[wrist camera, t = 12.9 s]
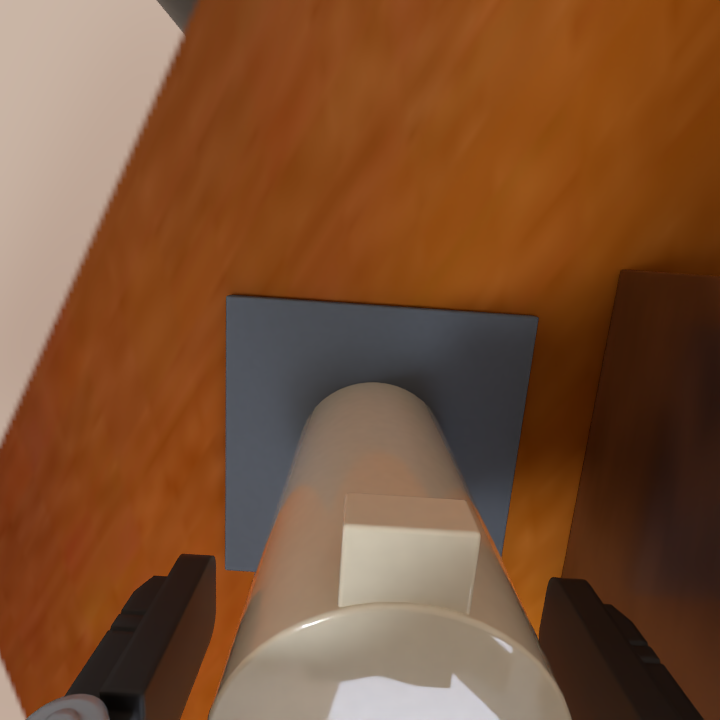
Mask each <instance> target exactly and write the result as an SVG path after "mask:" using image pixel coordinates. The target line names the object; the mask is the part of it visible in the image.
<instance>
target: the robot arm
mask: <svg viewBox="0 0 720 720" xmlns="http://www.w3.org/2000/svg"><path fill="white" fill-rule="evenodd" d="M215 615H216V561H215V557H214V556H210V555H194V554H181V555H180V556H179V558H178V559H177V561H176V563H175V564H174V566H173V568H172V569H171V571H170V573H169V575H168V576H167V577H166V576H153V577H152V578H151V579H149V580H148V581H147V582H145V583H144V584H143V585H142V586H140V587H139V588H138V589H137V590H135V591H134V592H133V594H132V595H131V597H130V598H129V600H128V601H127V603H126V604H125V606H124V607H123V609H122V611H121V614H119V615H118V616H117V618H116V619H115V621H114V622H113V624H112V625H111V629H110V631H109V630H108V632H107V633H106V635H105V636H104V638H103V639H102V641H101V642H100V644H99V645H98V647H97V648H96V650H95V651H94V653H93V654H92V656H91V657H90V659H89V660H88V662H87V663H86V665H85V666H84V668H83V669H82V671H81V672H80V674H79V675H78V677H77V678H76V680H75V681H74V683H73V684H72V686H71V687H70V689H69V690H68V692H67V693H66V695H65V696H64V697H61V698H59V699H56V700H54V701H52V702H50V703H48V704H46V705H44V706H43V707H41V708H40V709H38V710H37V711H35V712H34V713H33V714H31V715H30V716H29V717H28V718H27V719H26V720H180V718H181V715H182V713H183V710H184V707H185V705H186V702H187V700H188V697H189V695H190V692H191V689H192V687H193V684H194V682H195V679H196V676H197V674H198V671H199V669H200V666H201V663H202V661H203V658H204V656H205V653H206V650H207V648H208V645H209V643H210V640H211V636H212V633H213V628H214V623H215ZM539 642H540V644H541V647H542V649H543V651H544V653H545V655H546V658H547V660H548V662H549V664H550V666H551V668H552V671H553V673H554V675H555V677H556V679H557V682H558V684H559V686H560V688H561V690H562V693H563V695H564V697H565V700H566V702H567V705H568V708H569V710H570V713H571V717H572V720H704V719H703V717H702V716H701V715H700V713H699V712H698V711H697V709H696V708H695V707H694V705H693V704H692V702H691V701H690V700H689V698H688V697H687V696H686V694H685V693H684V692H683V690H682V689H681V687H680V686H679V685H678V683H677V682H676V681H675V679H674V678H673V677H672V675H671V674H670V672H669V671H668V670H667V668H666V667H665V666H664V664H661V663H660V659H659V657H658V656H657V655H656V653H655V652H654V651H653V649H652V648H651V647H648V642H647V641H646V640H645V638H644V637H643V636H642V634H641V633H640V632H639V630H638V629H637V627H636V626H635V625H634V623H633V622H632V621H631V620H629V619H628V618H627V617H626V616H625V615H623V614H622V613H621V612H620V611H619V610H617V609H616V608H615V607H614V606H613V605H611V604H603V603H602V601H601V600H600V598H599V597H598V595H597V594H596V592H595V591H594V589H593V588H592V587H591V585H590V584H589V583H588V581H586V580H585V579H573V578H556V577H553V578H551V579H550V580H549V583H548V586H547V592H546V597H545V602H544V608H543V613H542V619H541V624H540V630H539Z"/></svg>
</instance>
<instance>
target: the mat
mask: <svg viewBox="0 0 720 720" xmlns="http://www.w3.org/2000/svg"><path fill="white" fill-rule="evenodd" d="M538 319H539V318H538V317H536V316H531V315H516V314H502V313H487V312H473V311H458V310H444V309H429V308H414V307H400V306H385V305H371V304H356V303H342V302H327V301H313V300H298V299H284V298H269V297H255V296H240V295H229V296H227V297H226V506H225V569H226V570H235V571H251V572H255V571H256V568H257V565H258V562H259V559H260V556H261V553H262V550H263V547H264V544H265V541H266V538H267V535H268V532H269V529H270V526H271V523H272V520H273V517H274V514H275V511H276V507H277V504H278V501H279V498H280V495H281V492H282V489H283V486H284V483H285V480H286V477H287V474H288V471H289V468H290V465H291V462H292V459H293V456H294V453H295V450H296V447H297V444H298V441H299V437H300V434H301V431H302V429H303V426H304V424H305V422H306V420H307V418H308V417H309V415H310V413H311V412H312V411H313V410H314V408H315V407H316V406H317V405H318V404H319V403H320V402H321V401H322V400H324V399H325V398H326V397H328V396H329V395H330V394H332V393H334V392H336V391H337V390H339V389H342V388H345V387H347V386H350V385H354V384H359V383H367V382H378V383H385V384H390V385H394V386H398V387H400V388H402V389H405V390H407V391H409V392H411V393H412V394H414V395H416V396H417V397H418V398H419V399H421V400H422V401H423V402H424V403H425V404H426V405H427V406H428V407H429V408H430V409H431V411H432V412H433V413H434V415H435V416H436V418H437V420H438V422H439V424H440V426H441V428H442V430H443V432H444V434H445V437H446V439H447V441H448V443H449V445H450V448H451V450H452V452H453V454H454V456H455V459H456V461H457V463H458V465H459V467H460V469H461V472H462V474H463V476H464V478H465V480H466V483H467V485H468V487H469V489H470V491H471V494H472V496H473V498H474V500H475V502H476V504H477V507H478V509H479V511H480V513H481V515H482V518H483V520H484V522H485V524H486V526H487V529H488V531H489V533H490V535H491V537H492V539H493V542H494V544H495V546H496V548H497V550H498V553H499V555H500V557H501V556H502V549H503V543H504V536H505V530H506V524H507V517H508V511H509V504H510V498H511V492H512V485H513V479H514V472H515V466H516V460H517V453H518V447H519V441H520V434H521V428H522V421H523V415H524V409H525V402H526V396H527V389H528V383H529V377H530V370H531V364H532V357H533V351H534V345H535V338H536V332H537V325H538Z"/></svg>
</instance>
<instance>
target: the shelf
mask: <svg viewBox="0 0 720 720" xmlns="http://www.w3.org/2000/svg"><path fill="white" fill-rule="evenodd" d="M562 578H573V579H585V580H586V581H588V583H589V584H590V585H591V587H592V588H593V589H594V591H595V592H596V594H597V595H598V597H599V598H600V600H601V601H602V603H603V604H611V605H613V606H614V607H615V608H616V609H617V610H619V611H620V612H621V613H622V614H623V615H625V616H626V617H627V618H628V619H629V620H631V621H632V622H633V623H634V625H635V626H636V627H637V629H638V630H639V632H640V633H641V634H642V636H643V637H644V638H645V640H646V641H647V642H648V647H651V648H652V649H653V651H654V652H655V653H656V655H657V656H658V657H659V659H660V663H661V664H664V666H665V667H666V668H667V670H668V671H669V672H670V674H671V675H672V677H673V678H674V679H675V681H676V682H677V683H678V685H679V686H680V687H681V689H682V690H683V692H684V693H685V694H686V696H687V697H688V698H689V700H690V701H691V702H692V704H693V705H694V707H695V708H696V709H697V711H698V712H699V713H700V715H701V716H702V717H703V719H704V720H720V276H709V275H694V274H680V273H666V272H651V271H637V270H621V271H620V277H619V282H618V287H617V292H616V297H615V303H614V308H613V313H612V318H611V323H610V329H609V334H608V339H607V344H606V349H605V355H604V360H603V365H602V370H601V375H600V381H599V386H598V391H597V396H596V401H595V407H594V412H593V417H592V422H591V427H590V433H589V438H588V443H587V448H586V453H585V459H584V464H583V469H582V474H581V479H580V485H579V490H578V495H577V500H576V505H575V511H574V516H573V521H572V526H571V531H570V537H569V542H568V547H567V552H566V557H565V563H564V568H563V573H562Z"/></svg>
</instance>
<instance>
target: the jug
mask: <svg viewBox="0 0 720 720" xmlns="http://www.w3.org/2000/svg"><path fill="white" fill-rule="evenodd" d="M207 720H572V717H571V713H570V710H569V708H568V705H567V702H566V700H565V697H564V695H563V693H562V690H561V688H560V686H559V684H558V682H557V679H556V677H555V675H554V673H553V671H552V668H551V666H550V664H549V662H548V660H547V658H546V655H545V653H544V651H543V649H542V647H541V644H540V642H539V640H538V638H537V636H536V633H535V631H534V629H533V627H532V625H531V623H530V620H529V618H528V616H527V614H526V612H525V609H524V607H523V605H522V603H521V601H520V598H519V596H518V594H517V592H516V590H515V588H514V585H513V583H512V581H511V579H510V577H509V574H508V572H507V570H506V568H505V566H504V564H503V561H502V559H501V557H500V555H499V553H498V550H497V548H496V546H495V544H494V542H493V539H492V537H491V535H490V533H489V531H488V529H487V526H486V524H485V522H484V520H483V518H482V515H481V513H480V511H479V509H478V507H477V504H476V502H475V500H474V498H473V496H472V494H471V491H470V489H469V487H468V485H467V483H466V480H465V478H464V476H463V474H462V472H461V469H460V467H459V465H458V463H457V461H456V459H455V456H454V454H453V452H452V450H451V448H450V445H449V443H448V441H447V439H446V437H445V434H444V432H443V430H442V428H441V426H440V424H439V422H438V420H437V418H436V416H435V415H434V413H433V412H432V411H431V409H430V408H429V407H428V406H427V405H426V404H425V403H424V402H423V401H422V400H421V399H419V398H418V397H417V396H416V395H414V394H412V393H411V392H409V391H407V390H405V389H402V388H400V387H398V386H394V385H390V384H385V383H378V382H367V383H359V384H354V385H350V386H347V387H345V388H342V389H339V390H337V391H336V392H334V393H332V394H330V395H329V396H328V397H326V398H325V399H324V400H322V401H321V402H320V403H319V404H318V405H317V406H316V407H315V408H314V410H313V411H312V412H311V413H310V415H309V417H308V418H307V420H306V422H305V424H304V426H303V429H302V431H301V434H300V437H299V441H298V444H297V447H296V450H295V453H294V456H293V459H292V462H291V465H290V468H289V471H288V474H287V477H286V480H285V483H284V486H283V489H282V492H281V495H280V498H279V501H278V504H277V507H276V511H275V514H274V517H273V520H272V523H271V526H270V529H269V532H268V535H267V538H266V541H265V544H264V547H263V550H262V553H261V556H260V559H259V562H258V565H257V568H256V571H255V574H254V577H253V581H252V584H251V587H250V590H249V593H248V596H247V599H246V602H245V605H244V608H243V611H242V614H241V617H240V620H239V623H238V626H237V629H236V632H235V635H234V638H233V641H232V644H231V647H230V651H229V654H228V657H227V660H226V663H225V666H224V669H223V672H222V675H221V678H220V681H219V684H218V687H217V690H216V693H215V696H214V699H213V702H212V705H211V708H210V711H209V715H208V719H207Z"/></svg>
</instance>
